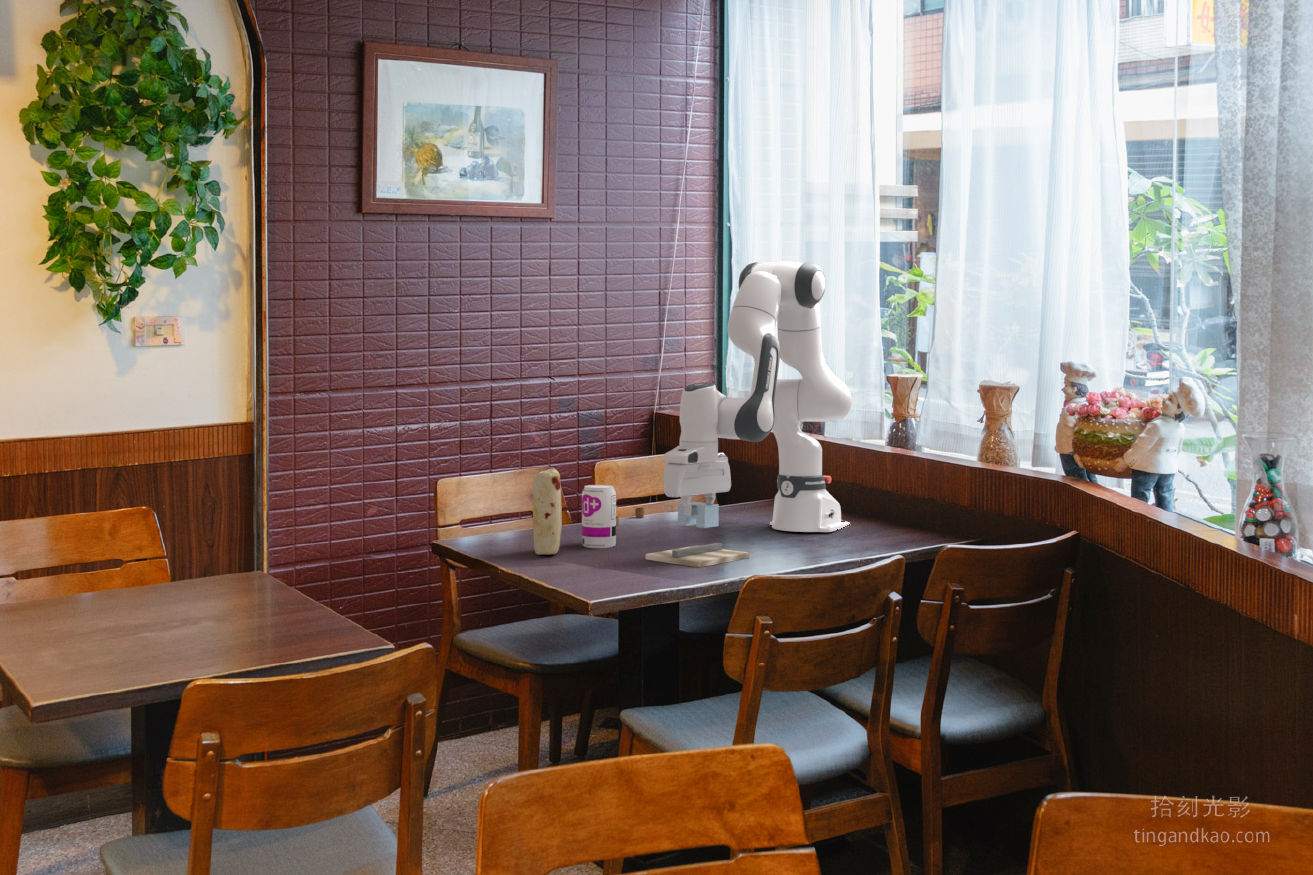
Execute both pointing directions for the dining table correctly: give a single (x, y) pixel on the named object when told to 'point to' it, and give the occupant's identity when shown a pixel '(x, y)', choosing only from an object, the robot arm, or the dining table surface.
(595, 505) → the supplement can
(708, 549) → the guide rail
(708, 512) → the saddle block
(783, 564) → the dining table surface
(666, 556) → the rail base
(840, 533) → the dining table surface
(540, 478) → the food model
